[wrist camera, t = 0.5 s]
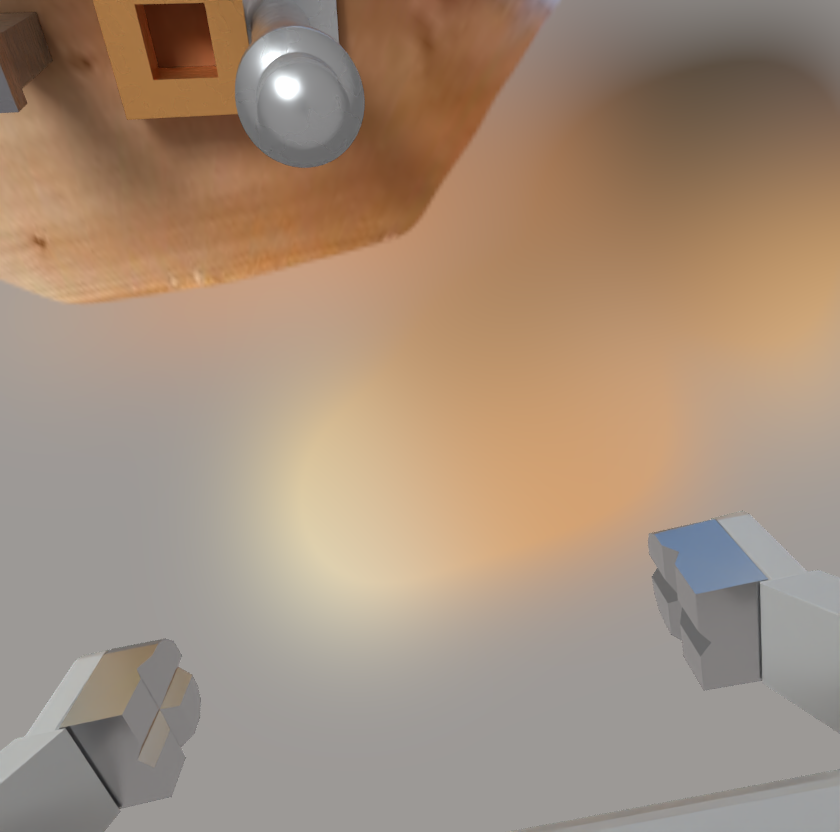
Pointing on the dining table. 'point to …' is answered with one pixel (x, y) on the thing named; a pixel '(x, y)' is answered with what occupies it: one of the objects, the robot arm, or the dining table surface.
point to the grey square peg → (20, 57)
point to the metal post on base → (247, 74)
